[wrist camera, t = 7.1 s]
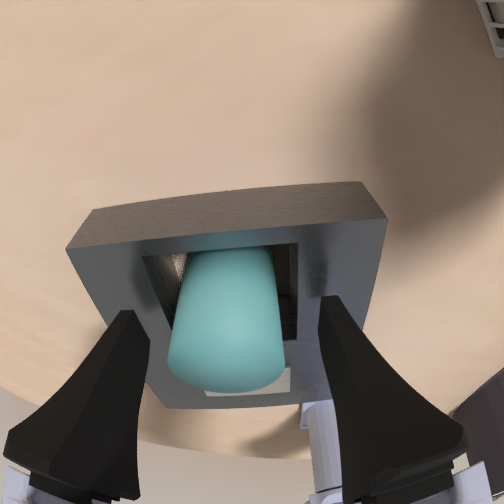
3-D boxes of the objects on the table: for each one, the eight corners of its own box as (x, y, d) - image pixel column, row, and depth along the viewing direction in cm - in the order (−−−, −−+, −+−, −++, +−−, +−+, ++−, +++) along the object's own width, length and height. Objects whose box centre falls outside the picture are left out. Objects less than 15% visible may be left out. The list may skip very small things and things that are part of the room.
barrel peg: (272, 285, 16) (283, 391, 11) (196, 289, 16) (182, 393, 11) (272, 219, 13) (287, 330, 9) (181, 225, 13) (152, 334, 9)
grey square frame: (332, 362, 21) (340, 400, 18) (171, 373, 21) (166, 410, 19) (360, 181, 12) (390, 221, 10) (92, 210, 13) (63, 252, 10)
